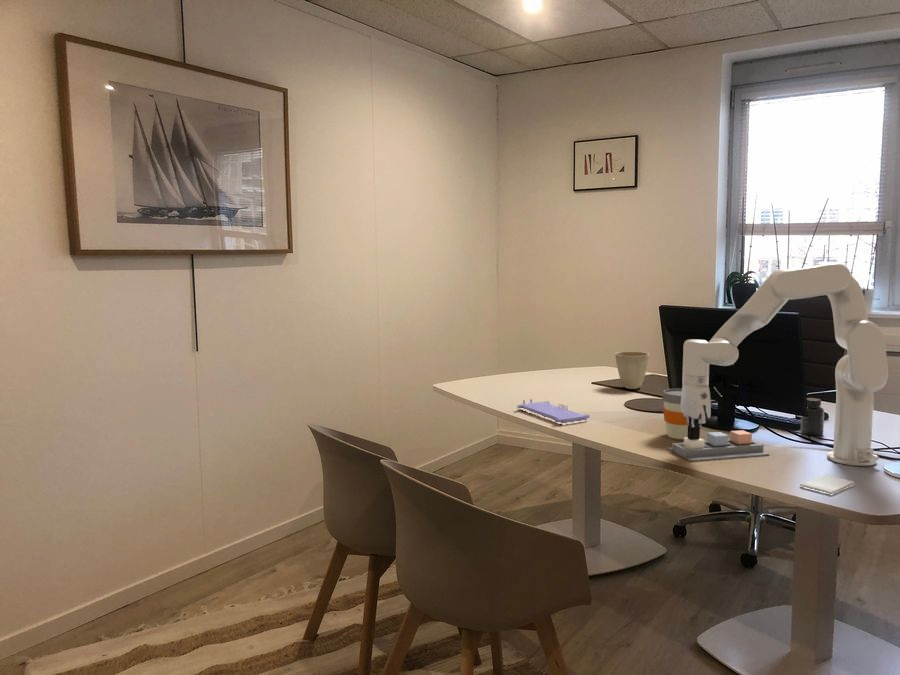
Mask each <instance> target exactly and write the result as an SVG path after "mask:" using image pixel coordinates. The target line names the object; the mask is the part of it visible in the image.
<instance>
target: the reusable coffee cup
mask: <svg viewBox="0 0 900 675" xmlns="http://www.w3.org/2000/svg"><path fill="white" fill-rule="evenodd" d="M681 393H682V388H669V389H668V388H667V389H665V390H663V393H662V401H663V408H662V411H663V420H664V422H665V426H666V435H668V436H667V437H668V438H671V439H676V440H684V437H687V435H688V425H687V419H686V418H685V417H684V415H683V413H682V412H681Z"/></svg>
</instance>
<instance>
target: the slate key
mask: <svg viewBox="0 0 900 675" xmlns="http://www.w3.org/2000/svg"><path fill="white" fill-rule="evenodd" d="M706 436H707V437H706V438H707V439H706V441H707V442H708V443H710V444H712V445H714V446H721V445H728V439H729V435H728V434H726V433H723V432H721V431H713V432H707V434H706Z"/></svg>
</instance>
